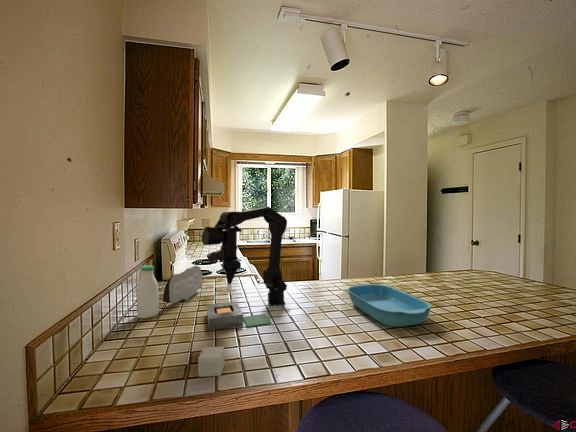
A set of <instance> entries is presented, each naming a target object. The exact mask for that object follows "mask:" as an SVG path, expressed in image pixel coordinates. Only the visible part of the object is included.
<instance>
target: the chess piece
mask: <svg viewBox="0 0 576 432" xmlns="http://www.w3.org/2000/svg"><path fill="white" fill-rule="evenodd" d="M222 292H223V293H235V292H236V288H235V287H233V286H232V283H231V284H228V282H227V281H226V286H225V287H224V288H222Z"/></svg>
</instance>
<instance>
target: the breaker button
mask: <svg viewBox="0 0 576 432" xmlns="http://www.w3.org/2000/svg"><path fill="white" fill-rule="evenodd" d="M216 311H217V313H224V312H231V309H230V308H222V309H216Z"/></svg>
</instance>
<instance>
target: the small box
mask: <svg viewBox="0 0 576 432" xmlns="http://www.w3.org/2000/svg"><path fill="white" fill-rule="evenodd" d="M197 360H198V363H197V364H198V378H200V377H201V378H203V377H221V375H222V373H223V370H224V367H225V365H226V362H225V360H226V359H225V346H208V347H207V346H206V347H203V348H202V349H201V352H200V354H199V356H198V359H197Z"/></svg>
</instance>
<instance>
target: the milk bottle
mask: <svg viewBox="0 0 576 432" xmlns="http://www.w3.org/2000/svg"><path fill="white" fill-rule="evenodd" d="M154 269H155V266H154V265H149V264H148V265H143V266H141V267H140V272H141V275H140V279H139V281H138V283H137V288H136V303H137V305H136V307H137V309H136V310H137V312H136V313H137V318H139V319H149V318H154V317H155V316H158V315H159V312H160V306H159V305H160V304H159V303H160V301H159V284H158V281H157V279H156V277H155V274H154Z"/></svg>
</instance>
